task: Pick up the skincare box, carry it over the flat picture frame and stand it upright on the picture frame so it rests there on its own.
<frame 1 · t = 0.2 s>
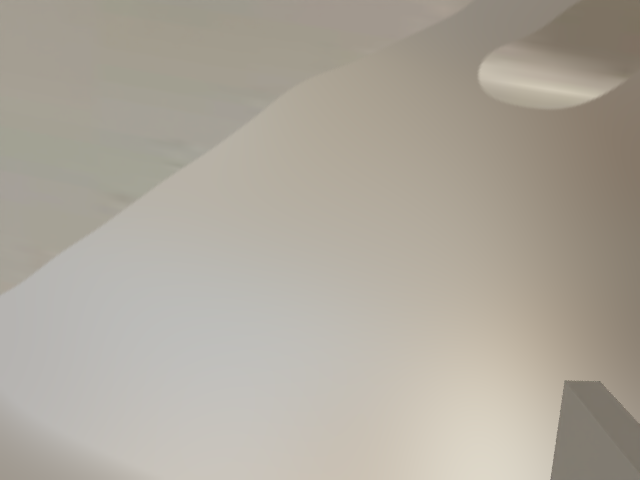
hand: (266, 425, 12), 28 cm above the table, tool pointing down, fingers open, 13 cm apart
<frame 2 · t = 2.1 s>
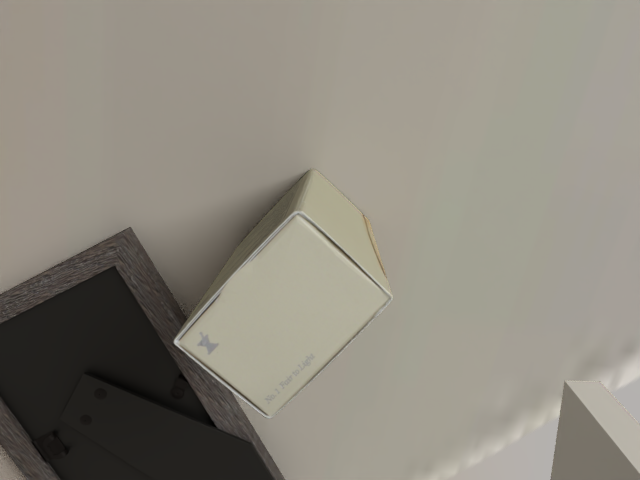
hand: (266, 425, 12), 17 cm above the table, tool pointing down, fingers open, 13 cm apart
picture frame: (121, 402, 33), on the table
skincare box: (302, 230, 29), on the table
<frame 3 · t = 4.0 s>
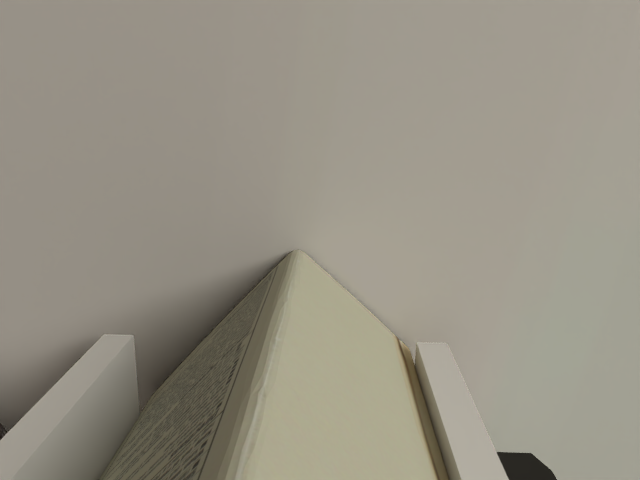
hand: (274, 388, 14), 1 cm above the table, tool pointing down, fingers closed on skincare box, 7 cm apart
skincare box: (279, 363, 15), on the table, touching gripper
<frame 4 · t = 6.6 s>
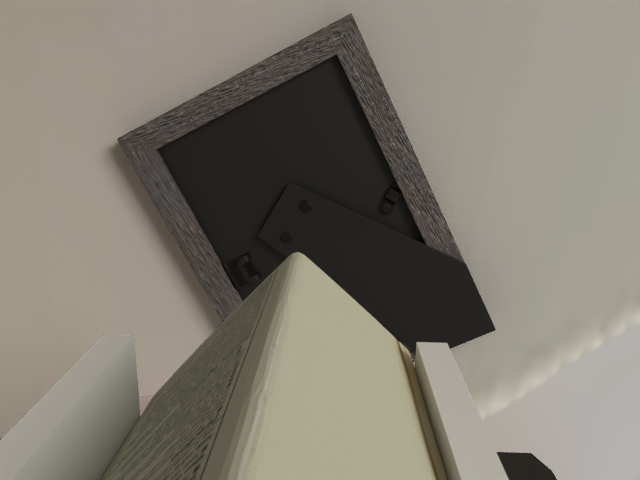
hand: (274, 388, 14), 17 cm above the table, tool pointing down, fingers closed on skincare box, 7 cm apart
picture frame: (313, 228, 31), on the table
skincare box: (279, 365, 15), point 15 cm above the table, touching gripper
when the fingers open (5 cm above the table, at t = 9.1 s): skincare box drops 2 cm, resting on picture frame.
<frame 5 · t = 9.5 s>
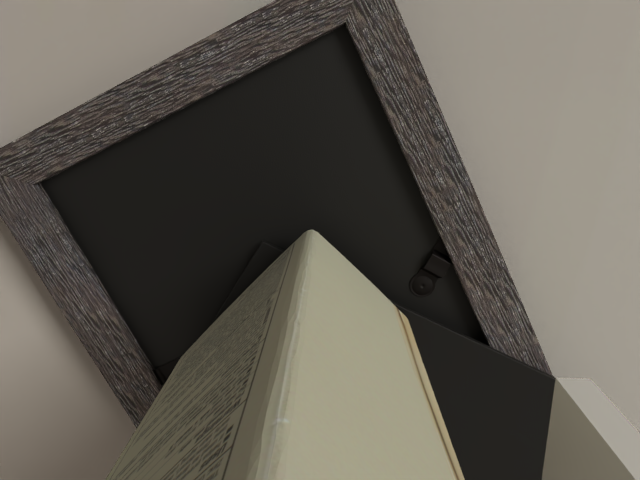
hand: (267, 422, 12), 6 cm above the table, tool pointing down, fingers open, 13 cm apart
picture frame: (303, 308, 19), on the table, touching skincare box
skincare box: (293, 330, 17), point 1 cm above the table, touching picture frame
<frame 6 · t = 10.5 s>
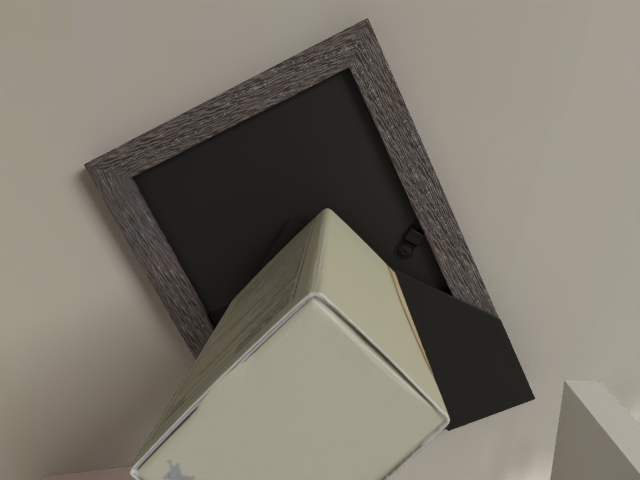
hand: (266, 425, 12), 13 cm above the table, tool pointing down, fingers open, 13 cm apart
picture frame: (317, 271, 26), on the table, touching skincare box
skincare box: (313, 282, 24), point 1 cm above the table, touching picture frame
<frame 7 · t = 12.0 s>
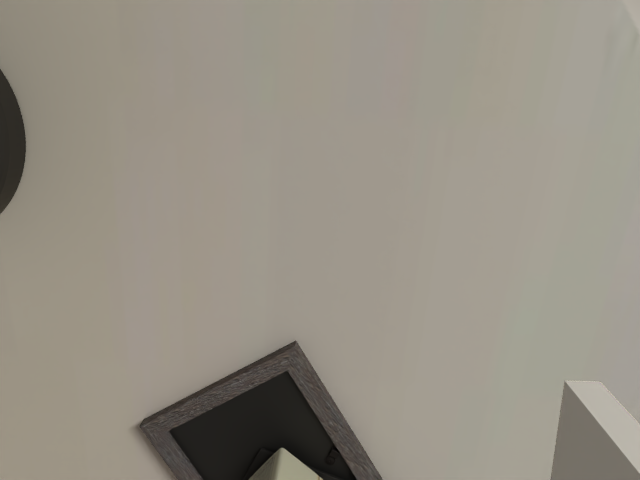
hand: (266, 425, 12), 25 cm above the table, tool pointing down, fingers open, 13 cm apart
picture frame: (281, 466, 43), on the table, touching skincare box
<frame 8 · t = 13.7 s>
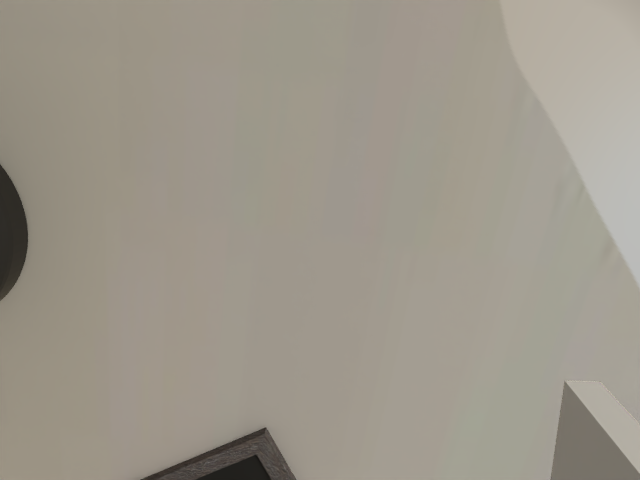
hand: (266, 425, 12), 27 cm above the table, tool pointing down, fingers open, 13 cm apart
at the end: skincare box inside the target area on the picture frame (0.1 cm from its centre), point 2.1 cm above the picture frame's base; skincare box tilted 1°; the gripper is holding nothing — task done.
